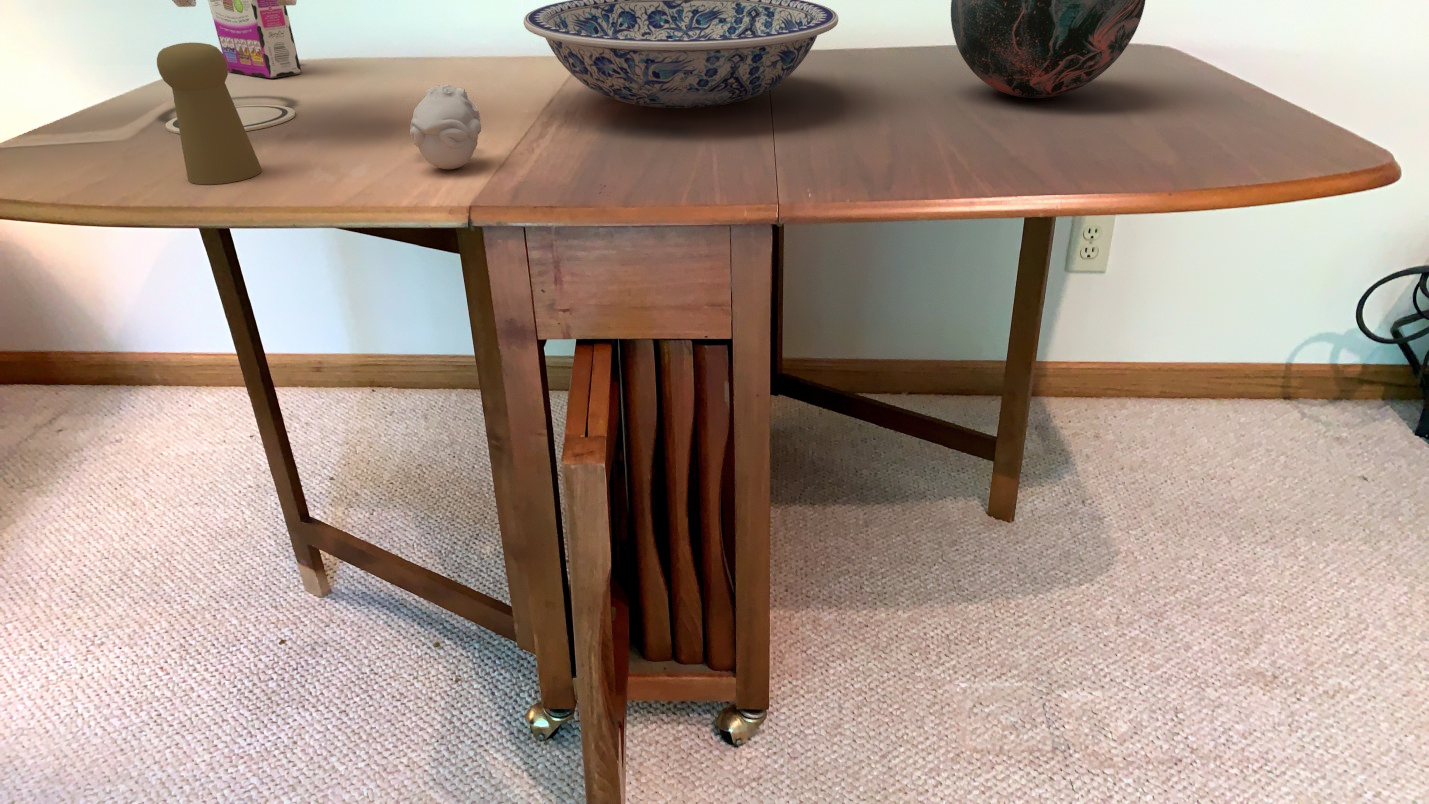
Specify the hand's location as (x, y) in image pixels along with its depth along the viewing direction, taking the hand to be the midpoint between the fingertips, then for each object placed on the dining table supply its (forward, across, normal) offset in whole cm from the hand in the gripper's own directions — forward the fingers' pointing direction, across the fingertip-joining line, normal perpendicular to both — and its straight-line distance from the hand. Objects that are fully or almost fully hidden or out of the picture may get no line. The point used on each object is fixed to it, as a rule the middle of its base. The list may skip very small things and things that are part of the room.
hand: (232, 2), depth 81 cm
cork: (+16, 0, +3) cm, 16 cm away
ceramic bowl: (-4, +39, +23) cm, 46 cm away
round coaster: (+1, -10, +18) cm, 21 cm away
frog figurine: (+14, +20, +5) cm, 25 cm away
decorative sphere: (-5, +79, +24) cm, 83 cm away
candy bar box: (-19, -20, +38) cm, 47 cm away
